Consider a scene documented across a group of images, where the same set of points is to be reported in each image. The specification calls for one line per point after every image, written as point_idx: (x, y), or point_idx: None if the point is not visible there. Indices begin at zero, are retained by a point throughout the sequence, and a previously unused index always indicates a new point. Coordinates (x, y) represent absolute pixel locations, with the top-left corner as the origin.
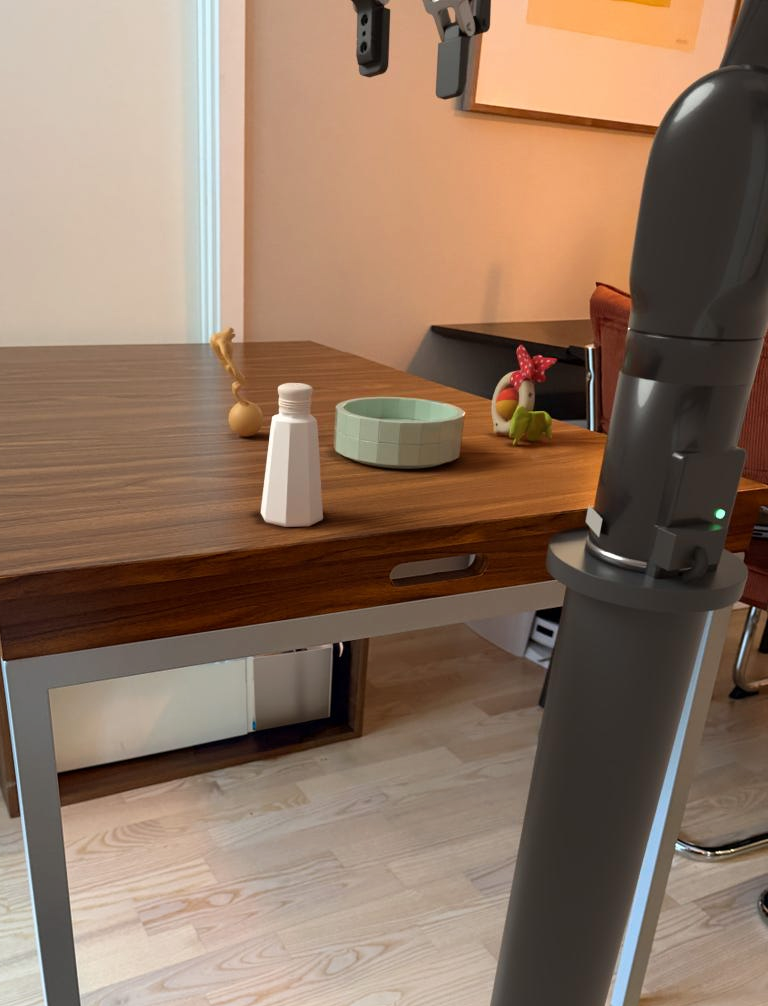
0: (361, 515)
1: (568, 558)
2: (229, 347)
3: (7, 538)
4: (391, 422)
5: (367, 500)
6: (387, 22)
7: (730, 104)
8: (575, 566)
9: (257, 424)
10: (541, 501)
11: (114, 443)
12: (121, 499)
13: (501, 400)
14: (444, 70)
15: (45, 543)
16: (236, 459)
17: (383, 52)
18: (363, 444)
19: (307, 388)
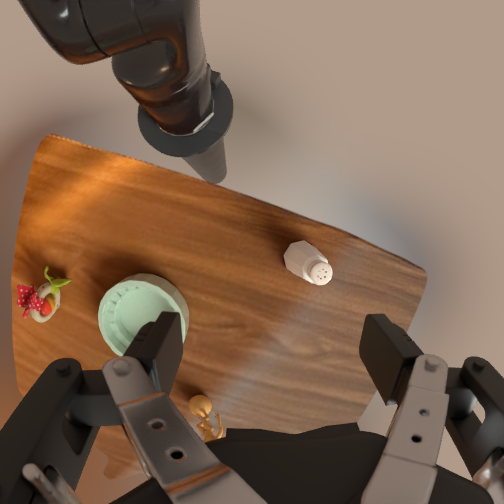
0: (265, 236)
1: (221, 128)
2: (210, 437)
3: (406, 310)
4: (175, 302)
5: (240, 254)
6: (400, 343)
7: None
8: (228, 120)
9: (198, 396)
10: (155, 187)
11: (277, 420)
12: (344, 334)
13: (51, 307)
14: (173, 360)
15: (401, 295)
16: (242, 364)
17: (388, 320)
18: (186, 313)
19: (321, 263)
